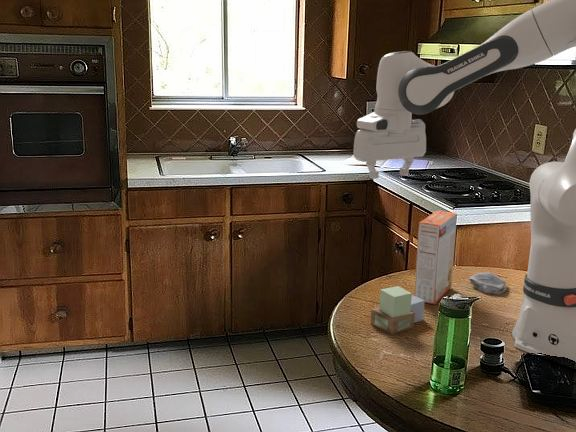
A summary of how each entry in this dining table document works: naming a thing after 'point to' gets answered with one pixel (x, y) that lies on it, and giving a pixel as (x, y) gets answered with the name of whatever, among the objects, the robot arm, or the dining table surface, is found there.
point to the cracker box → (435, 256)
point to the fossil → (488, 283)
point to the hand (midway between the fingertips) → (389, 176)
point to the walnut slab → (392, 321)
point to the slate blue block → (417, 308)
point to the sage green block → (395, 301)
